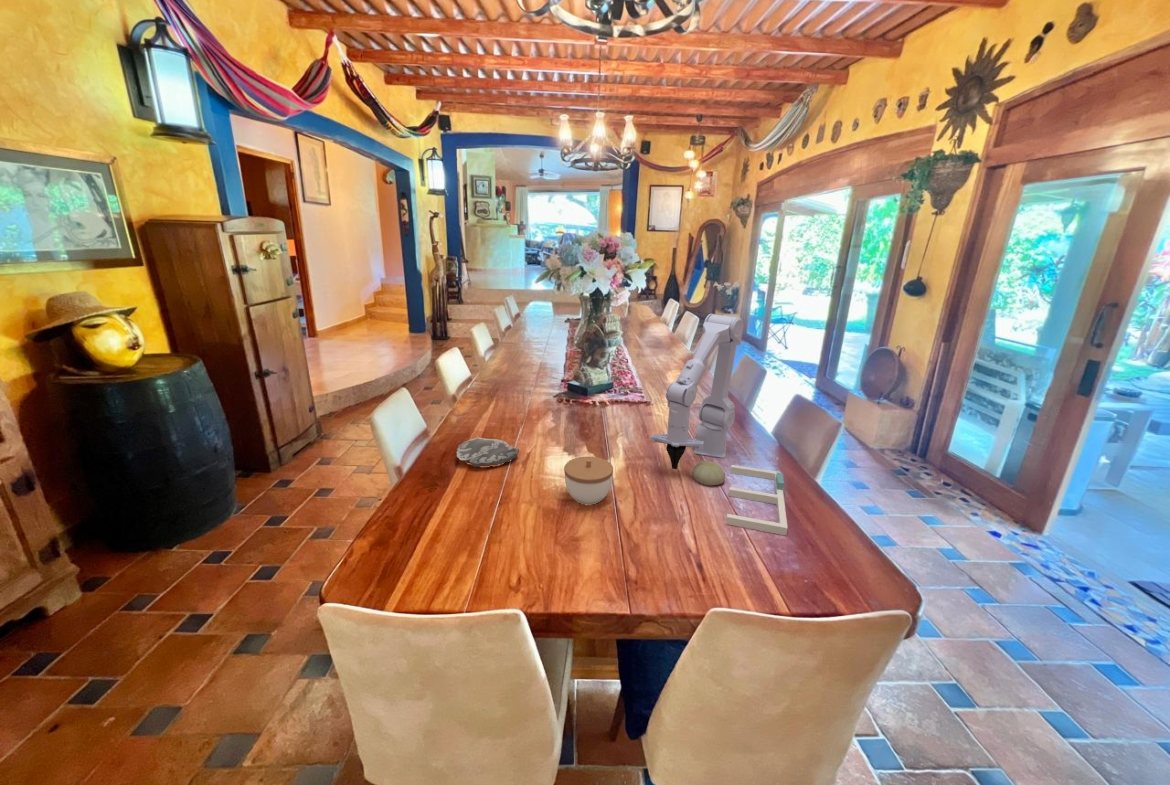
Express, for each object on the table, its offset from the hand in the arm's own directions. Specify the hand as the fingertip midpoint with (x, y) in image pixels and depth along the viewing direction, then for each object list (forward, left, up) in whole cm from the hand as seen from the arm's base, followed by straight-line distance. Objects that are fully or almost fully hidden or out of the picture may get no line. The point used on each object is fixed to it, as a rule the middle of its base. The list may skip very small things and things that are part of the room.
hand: (674, 467), depth 135 cm
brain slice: (-56, -10, -3) cm, 57 cm away
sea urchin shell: (+10, 0, -2) cm, 10 cm away
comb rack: (+22, -7, -2) cm, 23 cm away
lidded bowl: (-19, -21, -2) cm, 29 cm away
